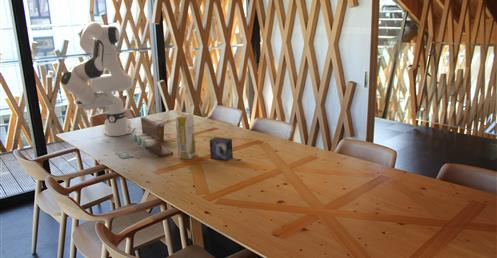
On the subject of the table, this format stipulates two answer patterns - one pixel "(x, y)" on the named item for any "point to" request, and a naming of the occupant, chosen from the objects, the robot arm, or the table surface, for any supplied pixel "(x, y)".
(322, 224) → the table surface
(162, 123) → the disposable coffee cup
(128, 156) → the card
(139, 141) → the button middle
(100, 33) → the robot arm
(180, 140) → the juice carton
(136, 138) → the button
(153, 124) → the brown wooden rack
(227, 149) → the small box
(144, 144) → the button
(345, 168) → the table surface
